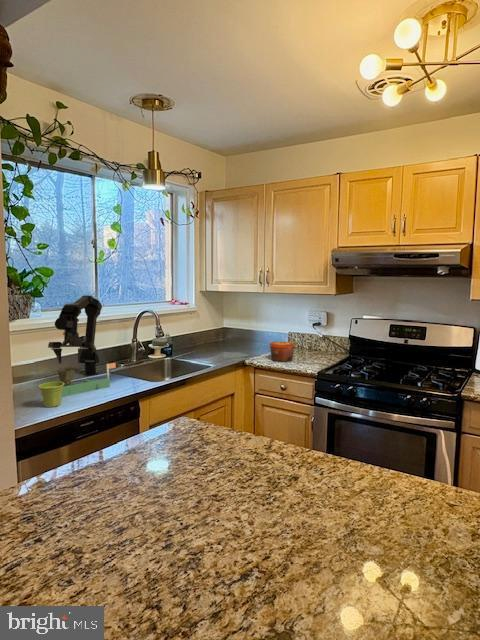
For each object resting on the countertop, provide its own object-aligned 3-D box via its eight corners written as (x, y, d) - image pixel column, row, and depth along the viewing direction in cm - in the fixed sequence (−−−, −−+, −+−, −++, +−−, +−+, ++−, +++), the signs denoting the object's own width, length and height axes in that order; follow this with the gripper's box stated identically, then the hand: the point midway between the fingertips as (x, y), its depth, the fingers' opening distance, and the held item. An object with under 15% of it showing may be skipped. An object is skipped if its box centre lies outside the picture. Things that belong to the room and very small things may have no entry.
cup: (55, 385, 199) (54, 369, 198) (67, 382, 205) (67, 366, 204) (65, 387, 195) (65, 371, 194) (78, 384, 202) (77, 367, 201)
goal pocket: (43, 392, 187) (41, 368, 186) (104, 380, 208) (103, 359, 207) (53, 398, 179) (52, 373, 177) (116, 385, 199) (115, 362, 198)
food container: (280, 356, 270) (280, 340, 269) (300, 360, 259) (300, 343, 257) (263, 360, 259) (263, 343, 258) (283, 364, 248) (284, 346, 246)
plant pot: (60, 408, 165) (59, 387, 164) (36, 409, 164) (35, 388, 163) (68, 401, 174) (67, 381, 173) (45, 402, 174) (44, 381, 173)
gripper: (58, 329, 187) (57, 364, 186) (97, 330, 200) (96, 363, 199) (48, 330, 194) (47, 363, 194) (86, 331, 208) (85, 362, 207)
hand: (69, 363), depth 198 cm, fingers open, 9 cm apart
